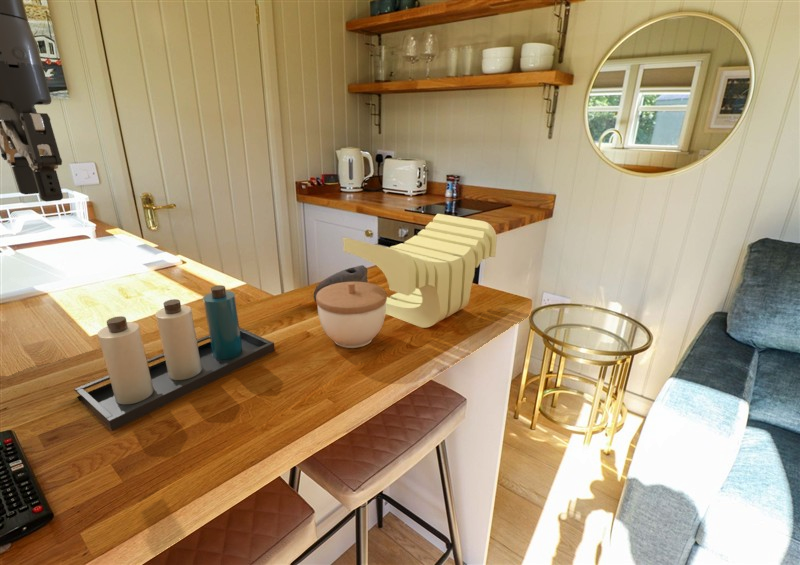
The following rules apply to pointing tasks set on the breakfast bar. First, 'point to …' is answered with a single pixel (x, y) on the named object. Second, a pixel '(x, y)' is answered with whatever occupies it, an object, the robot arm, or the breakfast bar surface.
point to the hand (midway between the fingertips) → (41, 197)
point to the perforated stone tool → (344, 278)
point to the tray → (170, 382)
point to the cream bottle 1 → (125, 360)
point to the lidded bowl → (351, 312)
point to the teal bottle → (223, 323)
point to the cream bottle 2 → (178, 340)
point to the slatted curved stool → (431, 267)
